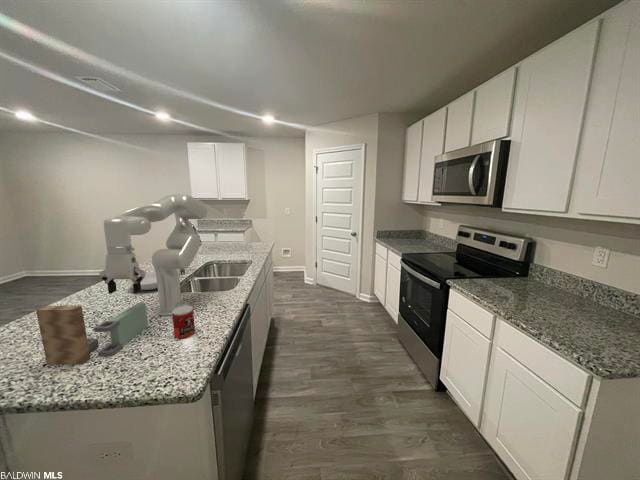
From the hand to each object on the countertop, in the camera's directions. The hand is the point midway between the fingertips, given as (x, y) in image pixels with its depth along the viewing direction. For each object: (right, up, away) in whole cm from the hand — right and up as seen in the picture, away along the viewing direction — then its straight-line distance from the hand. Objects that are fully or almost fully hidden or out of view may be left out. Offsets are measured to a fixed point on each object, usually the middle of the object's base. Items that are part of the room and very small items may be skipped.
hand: (125, 292), depth 99 cm
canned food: (+21, -19, +6) cm, 29 cm away
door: (0, -19, +1) cm, 19 cm away
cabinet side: (-10, -21, -9) cm, 25 cm away
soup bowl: (-28, -9, +57) cm, 64 cm away
